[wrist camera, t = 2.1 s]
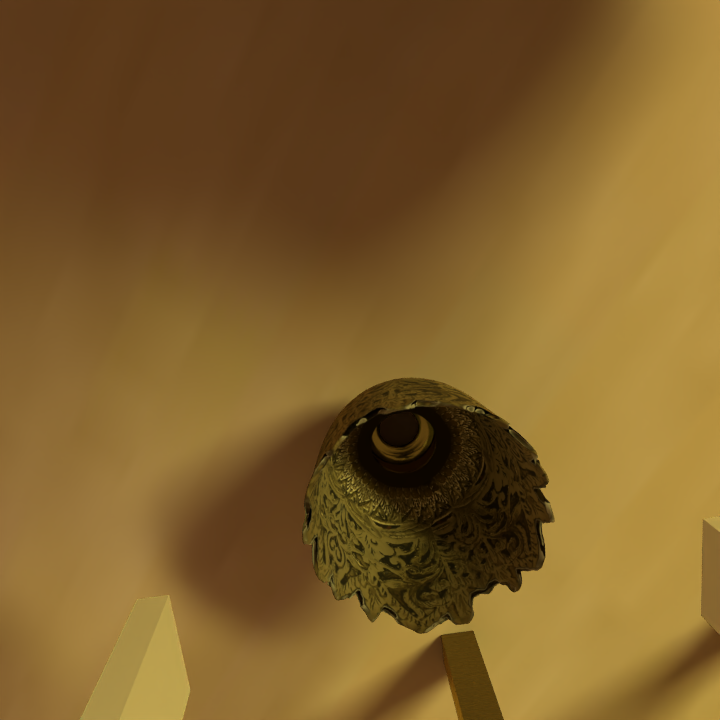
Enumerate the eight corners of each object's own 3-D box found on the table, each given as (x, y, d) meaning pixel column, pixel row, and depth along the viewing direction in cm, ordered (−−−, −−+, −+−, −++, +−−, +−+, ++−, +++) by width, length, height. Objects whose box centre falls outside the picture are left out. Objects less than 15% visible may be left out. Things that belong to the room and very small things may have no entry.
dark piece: (366, 537, 27) (383, 674, 19) (274, 401, 25) (252, 490, 17) (516, 452, 26) (597, 559, 18) (433, 306, 24) (483, 356, 17)
